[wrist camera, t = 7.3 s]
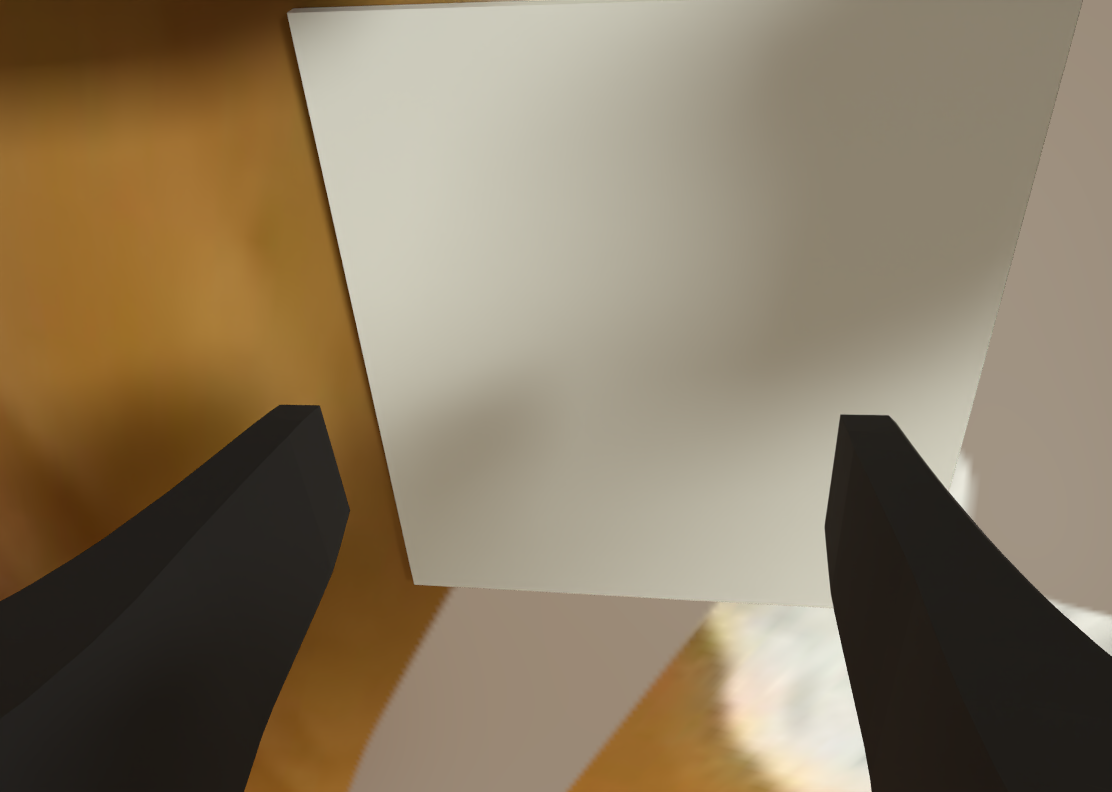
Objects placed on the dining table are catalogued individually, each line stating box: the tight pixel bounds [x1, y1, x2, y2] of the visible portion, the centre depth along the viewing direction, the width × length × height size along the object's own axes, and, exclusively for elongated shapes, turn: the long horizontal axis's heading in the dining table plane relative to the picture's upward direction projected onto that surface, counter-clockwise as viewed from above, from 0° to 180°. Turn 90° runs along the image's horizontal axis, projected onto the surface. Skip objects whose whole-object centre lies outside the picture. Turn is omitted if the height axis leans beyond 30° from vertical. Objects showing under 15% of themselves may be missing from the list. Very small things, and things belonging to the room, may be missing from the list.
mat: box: [287, 0, 1083, 608], centre depth 24 cm, size 16×18×1 cm
